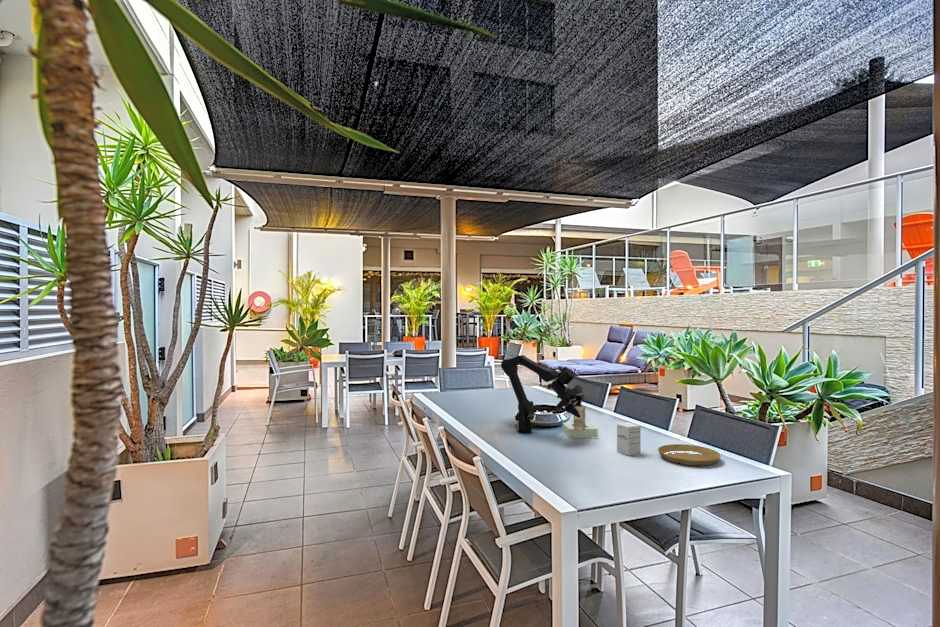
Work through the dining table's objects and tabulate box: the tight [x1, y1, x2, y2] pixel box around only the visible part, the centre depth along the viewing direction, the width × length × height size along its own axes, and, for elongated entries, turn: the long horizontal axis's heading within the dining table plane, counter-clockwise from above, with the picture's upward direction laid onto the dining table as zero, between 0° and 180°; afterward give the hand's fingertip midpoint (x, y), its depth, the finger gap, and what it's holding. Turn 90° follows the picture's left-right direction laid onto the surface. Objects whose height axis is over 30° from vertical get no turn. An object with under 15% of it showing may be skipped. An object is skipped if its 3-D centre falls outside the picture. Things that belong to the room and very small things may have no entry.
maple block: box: [573, 405, 586, 431], centre depth 232 cm, size 4×4×11 cm
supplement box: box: [616, 421, 642, 457], centre depth 215 cm, size 7×7×13 cm
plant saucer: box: [657, 443, 722, 466], centre depth 206 cm, size 24×24×3 cm
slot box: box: [562, 421, 599, 439], centre depth 246 cm, size 14×14×4 cm
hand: (582, 416), depth 231 cm, fingers closed on maple block, 4 cm apart
